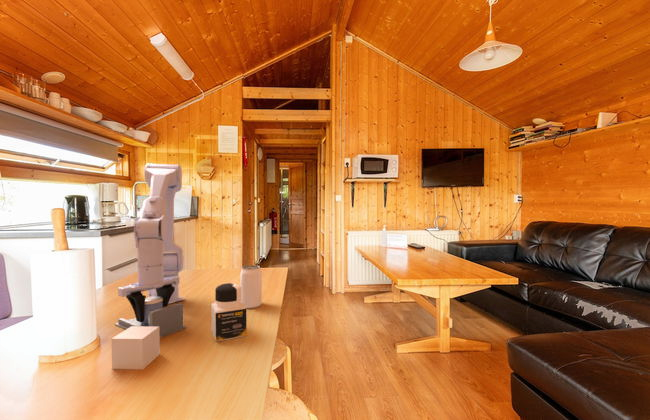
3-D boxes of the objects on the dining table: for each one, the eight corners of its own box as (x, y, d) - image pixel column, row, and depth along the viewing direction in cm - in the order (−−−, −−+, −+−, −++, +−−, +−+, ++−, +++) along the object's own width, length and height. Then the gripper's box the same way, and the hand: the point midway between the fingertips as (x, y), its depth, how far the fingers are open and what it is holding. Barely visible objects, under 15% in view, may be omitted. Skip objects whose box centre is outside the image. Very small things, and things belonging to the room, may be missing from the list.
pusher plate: (148, 328, 77) (148, 311, 77) (165, 323, 81) (165, 306, 81) (150, 329, 77) (150, 312, 77) (167, 324, 80) (167, 307, 80)
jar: (135, 326, 79) (135, 300, 79) (155, 319, 84) (154, 295, 84) (148, 329, 77) (148, 304, 77) (167, 322, 82) (167, 298, 81)
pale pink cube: (131, 354, 66) (131, 326, 66) (159, 354, 66) (159, 326, 66) (111, 369, 60) (111, 338, 60) (142, 369, 60) (142, 338, 60)
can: (256, 309, 94) (256, 269, 94) (236, 308, 95) (236, 268, 95) (264, 302, 100) (264, 265, 100) (246, 301, 101) (246, 264, 101)
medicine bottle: (215, 342, 72) (215, 290, 71) (211, 331, 78) (211, 283, 78) (246, 336, 75) (246, 286, 75) (240, 326, 81) (240, 280, 81)
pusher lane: (115, 324, 82) (114, 300, 82) (150, 314, 89) (149, 292, 89) (150, 340, 73) (150, 313, 72) (186, 327, 80) (186, 303, 80)
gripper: (128, 272, 72) (129, 330, 72) (186, 262, 84) (186, 312, 85) (113, 268, 76) (114, 324, 76) (170, 259, 88) (171, 307, 88)
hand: (151, 317), depth 81 cm, fingers closed on jar, 5 cm apart
